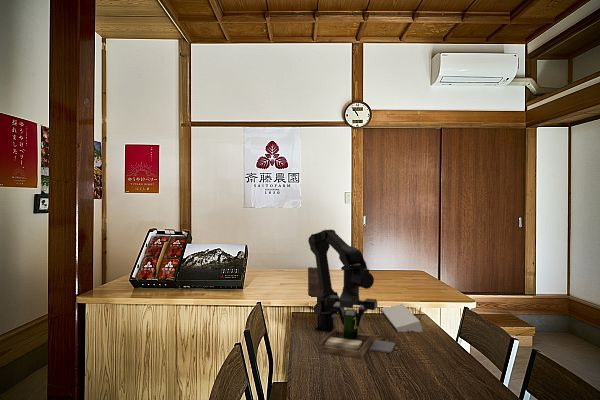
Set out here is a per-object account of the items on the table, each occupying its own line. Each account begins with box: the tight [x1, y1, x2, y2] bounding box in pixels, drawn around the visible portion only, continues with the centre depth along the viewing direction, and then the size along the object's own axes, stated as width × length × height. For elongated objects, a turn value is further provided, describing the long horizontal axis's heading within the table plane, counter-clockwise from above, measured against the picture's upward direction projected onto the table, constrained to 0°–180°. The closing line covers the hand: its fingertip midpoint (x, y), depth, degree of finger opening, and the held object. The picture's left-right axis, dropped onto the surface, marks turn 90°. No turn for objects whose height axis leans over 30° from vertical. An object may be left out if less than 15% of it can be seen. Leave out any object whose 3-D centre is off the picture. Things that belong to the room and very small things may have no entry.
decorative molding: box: [380, 303, 423, 333], centre depth 198 cm, size 34×5×10 cm
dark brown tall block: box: [307, 266, 320, 297], centre depth 217 cm, size 8×7×20 cm
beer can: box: [343, 308, 359, 341], centre depth 167 cm, size 5×5×12 cm
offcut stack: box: [325, 337, 363, 351], centre depth 158 cm, size 13×5×4 cm, turn 69°
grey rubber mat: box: [368, 339, 396, 354], centre depth 162 cm, size 8×10×1 cm
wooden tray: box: [318, 327, 375, 359], centre depth 163 cm, size 15×20×3 cm
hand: (350, 325), depth 167 cm, fingers closed on beer can, 5 cm apart
